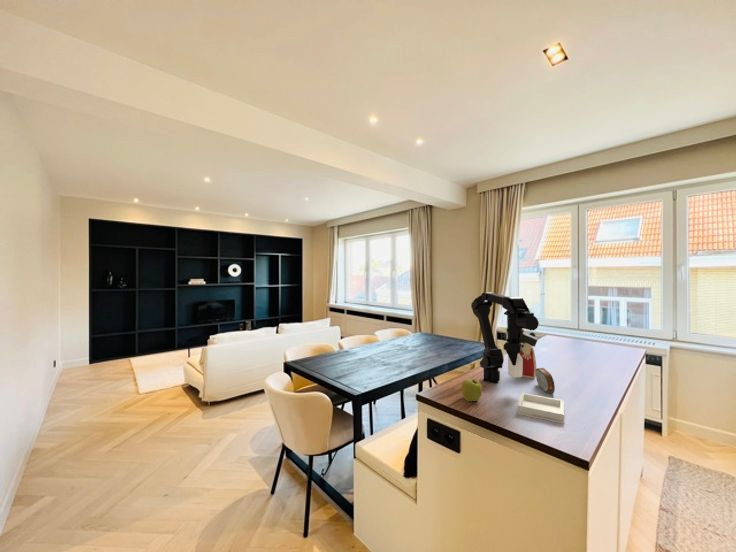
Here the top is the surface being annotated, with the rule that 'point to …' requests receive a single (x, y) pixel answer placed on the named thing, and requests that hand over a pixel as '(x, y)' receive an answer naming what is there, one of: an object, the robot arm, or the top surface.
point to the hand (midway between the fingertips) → (515, 363)
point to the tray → (541, 407)
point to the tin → (545, 380)
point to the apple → (471, 390)
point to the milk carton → (528, 361)
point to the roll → (515, 367)
